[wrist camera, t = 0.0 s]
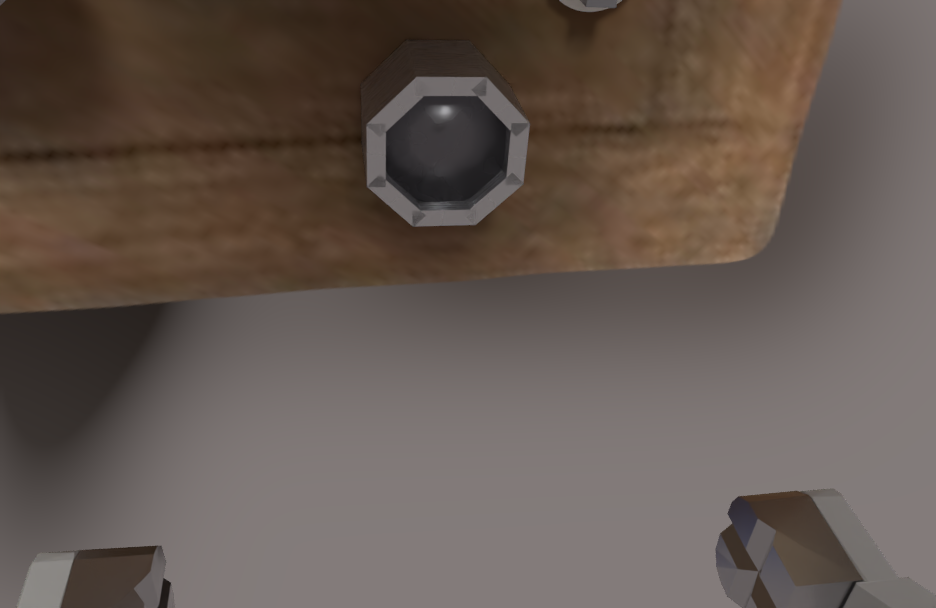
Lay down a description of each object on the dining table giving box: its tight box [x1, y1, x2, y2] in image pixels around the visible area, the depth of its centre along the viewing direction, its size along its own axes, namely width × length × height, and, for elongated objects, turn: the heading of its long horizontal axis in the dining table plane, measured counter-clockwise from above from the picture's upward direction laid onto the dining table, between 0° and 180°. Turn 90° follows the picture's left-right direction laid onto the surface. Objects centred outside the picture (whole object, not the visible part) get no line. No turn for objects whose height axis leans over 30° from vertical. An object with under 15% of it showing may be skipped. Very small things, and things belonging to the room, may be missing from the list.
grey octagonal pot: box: [360, 39, 530, 227], centre depth 56 cm, size 10×10×7 cm
